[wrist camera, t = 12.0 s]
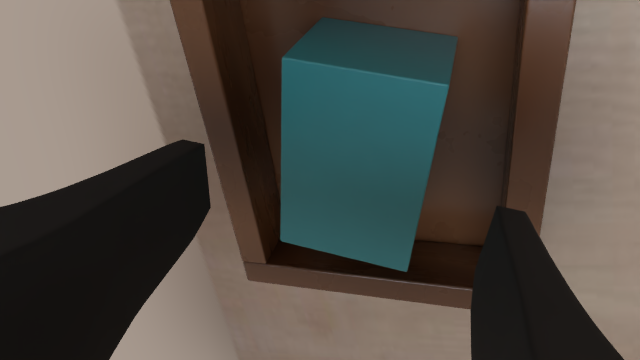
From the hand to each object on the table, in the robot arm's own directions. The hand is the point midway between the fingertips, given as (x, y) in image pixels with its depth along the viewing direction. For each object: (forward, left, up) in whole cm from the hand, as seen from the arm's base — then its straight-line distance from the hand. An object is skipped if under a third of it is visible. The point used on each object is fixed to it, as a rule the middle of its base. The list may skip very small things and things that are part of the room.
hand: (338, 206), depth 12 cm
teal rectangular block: (0, 0, -5) cm, 5 cm away
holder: (0, 0, -6) cm, 6 cm away
